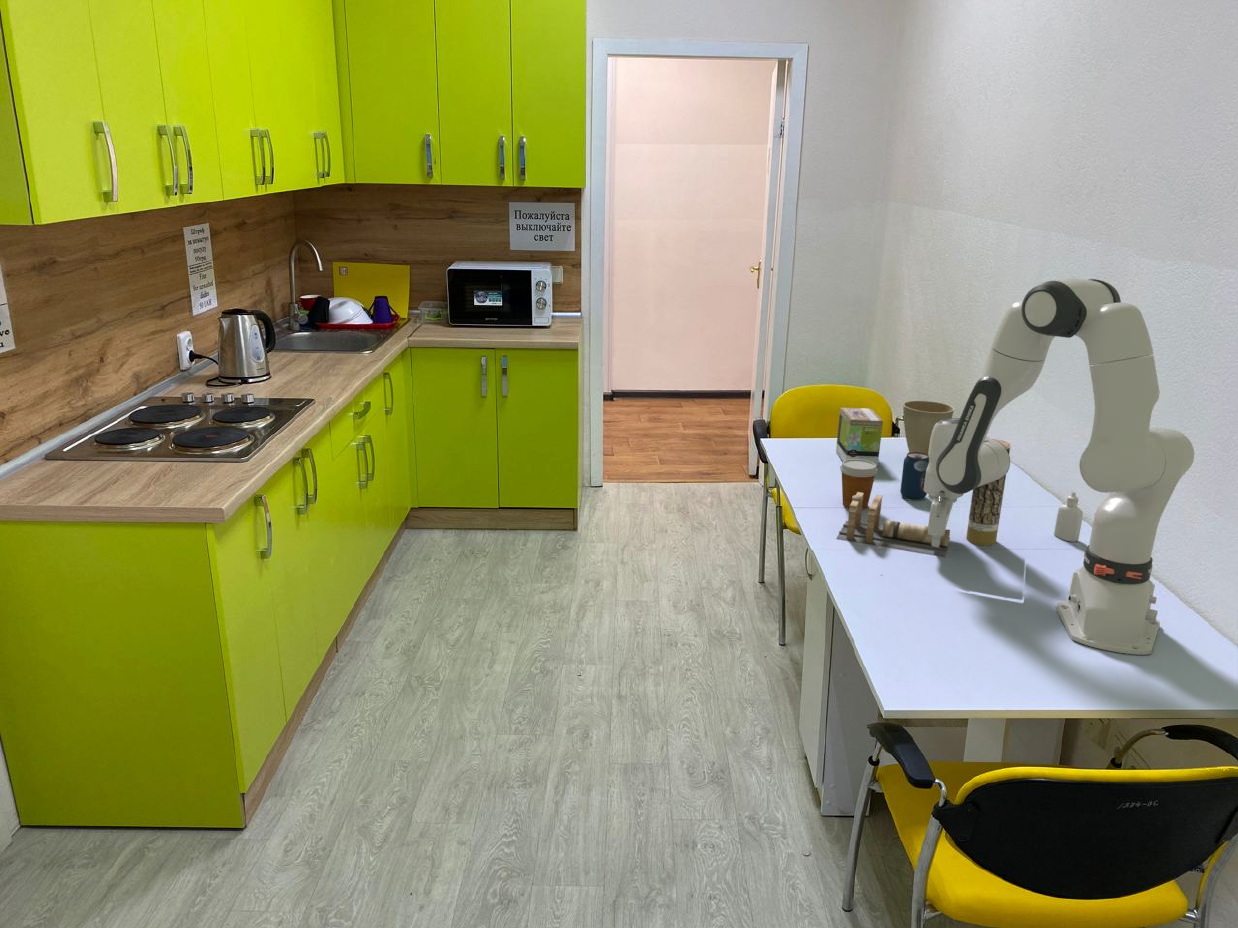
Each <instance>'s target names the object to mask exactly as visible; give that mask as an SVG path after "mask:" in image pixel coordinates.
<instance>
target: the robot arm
mask: <svg viewBox="0 0 1238 928" xmlns="http://www.w3.org/2000/svg"><path fill="white" fill-rule="evenodd" d="M1120 296H1121V295H1120V294H1119V292H1118V290H1117V289H1116V288H1115V287H1114V286H1113V285H1112V284H1111V283H1109V282H1106V281H1105V280H1100V279H1096V278H1095V279H1094V278H1090V279H1082V278H1081V279H1080V278H1074V277H1073V278H1065V279H1064V278H1063V279H1058V280H1048V281H1045V282H1042V283H1039V284H1037V285H1036V286H1034V287H1032V288H1031V289H1030V290H1029V291H1028V292H1027V293H1026V295H1025V296H1024V298H1023V299H1021V300H1017V301H1015V302H1013V303H1012V304H1011V305H1010V306H1008V308H1007V310H1006V311H1005V313H1004V314H1003V317H1002V319H1001V320H1000V323H999V325H998V327H997V329H996V332H995V335H994V337H993V340H992V343H991V347H990V350H989V352H988V355H987V359H986V361H985V363H984V366H983V368H982V369H981V373H980V375H979V377H978V378H977V380H976V382H975V385H974V386H973V389H972V391H971V392H970V394H969V396H968V397H967V400H966V403H965V406H964V408H963V411H962V413H961V416H960V417H952V418H950V419H949V418H948V419H944V420H941V421H938V422H937V423H936V424H935V426H934V428H933V430H932V434H931V438H930V444H929V451H928V456H929V464H928V467H927V469H926V476H925V484H924V491H925V492H926V493H927V495H928V499H929V500H930V501H932V502H931V506H930V510H929V517H928V534H929V535H932V544H931V545H932V546H933V547H939V546H940V540H941V537H942V536H944V533H945V529H947V526H948V522H949V518H950V514H951V511H952V508H953V506H954V503H956V502H957V501H958V498H962V497H963V496H964V494H967V493H969V492H970V491H973V489H975V488H976V487H979V486H982V485H985V484H988V483H990V482H993V481H995V480H998V479H1000V478H1002V477H1003V476H1005V475H1006V476H1007V474H1008V472H1009V470H1010V466H1011V456H1010V453H1008V451H1007V449H1006V448H1005V447H1004V445H1002V444H1001V443H1000V442H998V441H995V440H992V439H993V438H990V437H988V436H987V435H988V433H989V430H990V428H991V425H992V423H993V421H994V419H995V418H996V416H997V415H998V413H1000V411H1001V410H1003V408H1005V407H1006V406H1008V404H1009V403H1011V402H1012V401H1013V400H1015V399H1017V398H1018V397H1020V396H1022V395H1024V394H1025V393H1026V392H1027V391H1029V390H1030V389H1032V387H1034V385H1035V383H1036V381H1037V380H1038V378H1039V377H1040V374H1041V372H1042V371H1043V367H1044V364H1045V361H1046V358H1047V356H1048V352H1049V349H1050V346H1051V343H1052V341H1053V339H1054V338H1055V337H1061V338H1067V339H1070V338H1073V337H1074V336H1076V337H1078V338H1079V339H1081V340H1082V341H1083V343H1084V345H1085V346H1086V347H1085V348H1086V353H1087V357H1088V365H1089V370H1090V371H1089V372H1090V376H1091V377H1090V378H1091V385H1092V386H1091V387H1092V392H1093V399H1094V401H1093V402H1094V412H1093V413H1094V415H1093V424H1092V430H1091V434H1090V435H1091V436H1090V437H1089V441H1088V444H1087V446H1086V448H1085V449H1084V450H1083V452H1082V454H1081V456H1080V459H1079V473H1080V476H1081V477H1082V480H1083V481H1084V483H1085V484H1086V485H1087V486H1088V487H1089V488H1090V489H1092V490H1094V491H1096V492H1100V493H1105V494H1107V496H1106V497H1105V498H1104V500H1103V501H1102V502H1101V504H1100V505H1099V506H1098V507H1097V509H1096V511H1095V512H1094V518H1093V521H1092V522H1093V523H1092V529H1091V533H1090V537H1089V538H1090V539H1089V543H1088V545H1087V546H1086V548H1085V550H1084V554H1083V563H1082V564H1083V565H1082V566H1081V567H1080V568H1079V569H1076V570H1074V571H1073V573H1072V576H1071V582H1070V585H1069V591H1068V596H1067V599H1066V601H1060V602H1057V604H1056V606H1055V610H1056V611H1057V613H1058V615H1059V616H1060V619H1061V621H1062V623H1063V625H1064V627H1065V629H1066V631H1067V633H1068V636H1069V638H1070V639H1071V640H1072V641H1074V642H1076V643H1079V644H1082V645H1085V646H1089V647H1091V648H1095V649H1099V650H1103V651H1109V652H1114V653H1119V654H1120V653H1122V654H1127V655H1137V656H1138V655H1151V654H1152V653H1153V648H1154V646H1155V642H1156V639H1157V635H1158V634H1159V630H1160V624H1161V622H1160V620H1158V619H1157V616H1158V610H1156V609H1151V608H1152V604H1153V605H1156V603H1157V597H1156V596H1154V592H1155V583H1153V581H1151V579H1150V578H1151V573H1152V571H1153V557H1152V554H1153V548H1154V545H1155V541H1156V537H1157V533H1158V532H1157V530H1158V527H1159V524H1160V521H1161V519H1162V516H1163V513H1164V511H1165V509H1166V508H1167V505H1168V502H1169V501H1170V499H1171V497H1172V495H1173V493H1174V491H1175V489H1176V487H1177V485H1178V483H1179V482H1180V481H1181V479H1182V478H1183V476H1185V474H1186V473H1187V472H1188V471H1189V469H1190V468H1192V465H1193V463H1194V459H1195V450H1194V449H1195V448H1194V445H1193V444H1192V442H1191V440H1190V439H1189V438H1188V437H1187V436H1186V435H1185V434H1184V433H1182V432H1181V431H1179V430H1175V429H1170V428H1162V427H1161V428H1160V427H1151V428H1150V426H1151V419H1152V413H1153V410H1154V407H1155V406H1156V404H1157V402H1158V401H1159V398H1160V386H1159V381H1158V380H1159V379H1158V374H1157V373H1158V372H1157V369H1156V368H1157V367H1156V361H1155V357H1154V356H1155V355H1154V350H1153V345H1152V340H1151V336H1150V333H1149V330H1148V327H1147V325H1146V322H1145V321H1146V320H1145V319H1144V317H1143V314H1142V312H1141V310H1140V309H1139V308H1138V307H1137V306H1135V305H1133V304H1131V303H1128V302H1122V301H1121V297H1120Z"/></svg>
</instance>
